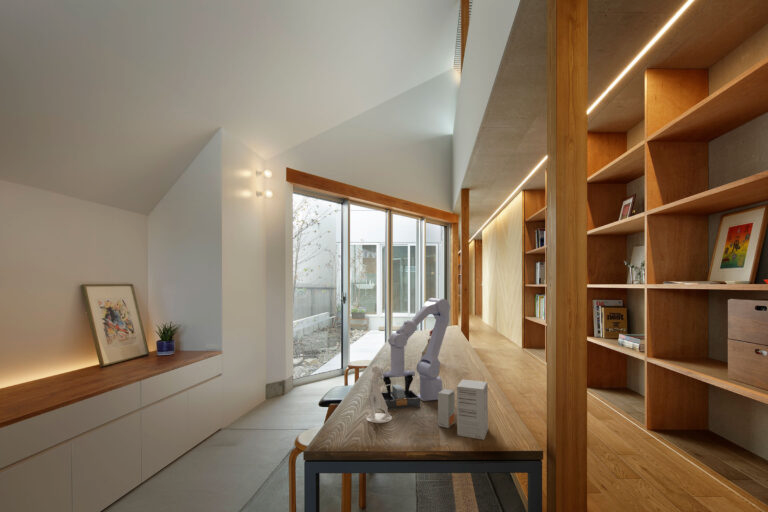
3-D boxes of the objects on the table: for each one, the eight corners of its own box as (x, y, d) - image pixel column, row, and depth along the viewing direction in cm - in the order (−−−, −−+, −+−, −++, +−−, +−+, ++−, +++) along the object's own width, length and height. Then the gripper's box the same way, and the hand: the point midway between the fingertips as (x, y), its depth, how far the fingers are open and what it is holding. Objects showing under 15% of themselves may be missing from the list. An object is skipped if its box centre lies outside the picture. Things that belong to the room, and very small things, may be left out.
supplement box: (462, 425, 144) (461, 378, 145) (488, 429, 141) (487, 381, 141) (456, 435, 135) (456, 385, 136) (484, 440, 132) (483, 388, 132)
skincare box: (448, 428, 141) (448, 394, 142) (437, 426, 144) (437, 392, 144) (455, 422, 147) (454, 390, 147) (444, 420, 149) (444, 388, 149)
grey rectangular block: (399, 398, 172) (399, 384, 172) (404, 404, 164) (404, 389, 164) (392, 399, 171) (392, 384, 171) (397, 405, 163) (397, 390, 163)
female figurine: (352, 412, 158) (352, 361, 159) (392, 412, 157) (392, 361, 158) (348, 422, 148) (348, 368, 148) (391, 423, 147) (391, 368, 147)
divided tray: (411, 398, 175) (411, 389, 175) (420, 406, 164) (420, 397, 164) (376, 401, 171) (376, 392, 171) (383, 410, 160) (382, 400, 160)
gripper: (383, 365, 163) (383, 398, 162) (417, 362, 166) (417, 395, 166) (379, 361, 170) (379, 393, 169) (411, 359, 173) (412, 390, 173)
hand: (397, 394), depth 168 cm, fingers open, 7 cm apart
